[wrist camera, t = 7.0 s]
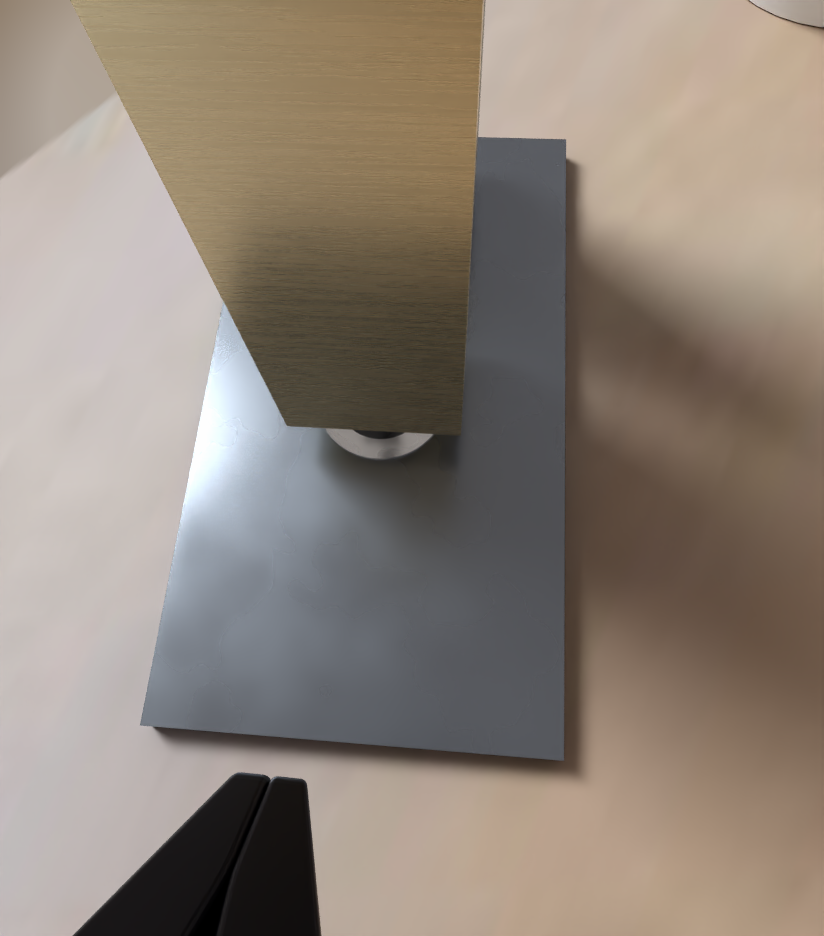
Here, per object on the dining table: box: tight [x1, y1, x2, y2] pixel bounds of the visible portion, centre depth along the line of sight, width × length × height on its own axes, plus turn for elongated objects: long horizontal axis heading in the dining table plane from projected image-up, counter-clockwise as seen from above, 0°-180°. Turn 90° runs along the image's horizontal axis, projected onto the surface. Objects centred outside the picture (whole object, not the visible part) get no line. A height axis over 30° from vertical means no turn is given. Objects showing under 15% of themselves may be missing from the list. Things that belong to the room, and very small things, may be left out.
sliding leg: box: [70, 0, 484, 436], centre depth 10 cm, size 3×4×16 cm
